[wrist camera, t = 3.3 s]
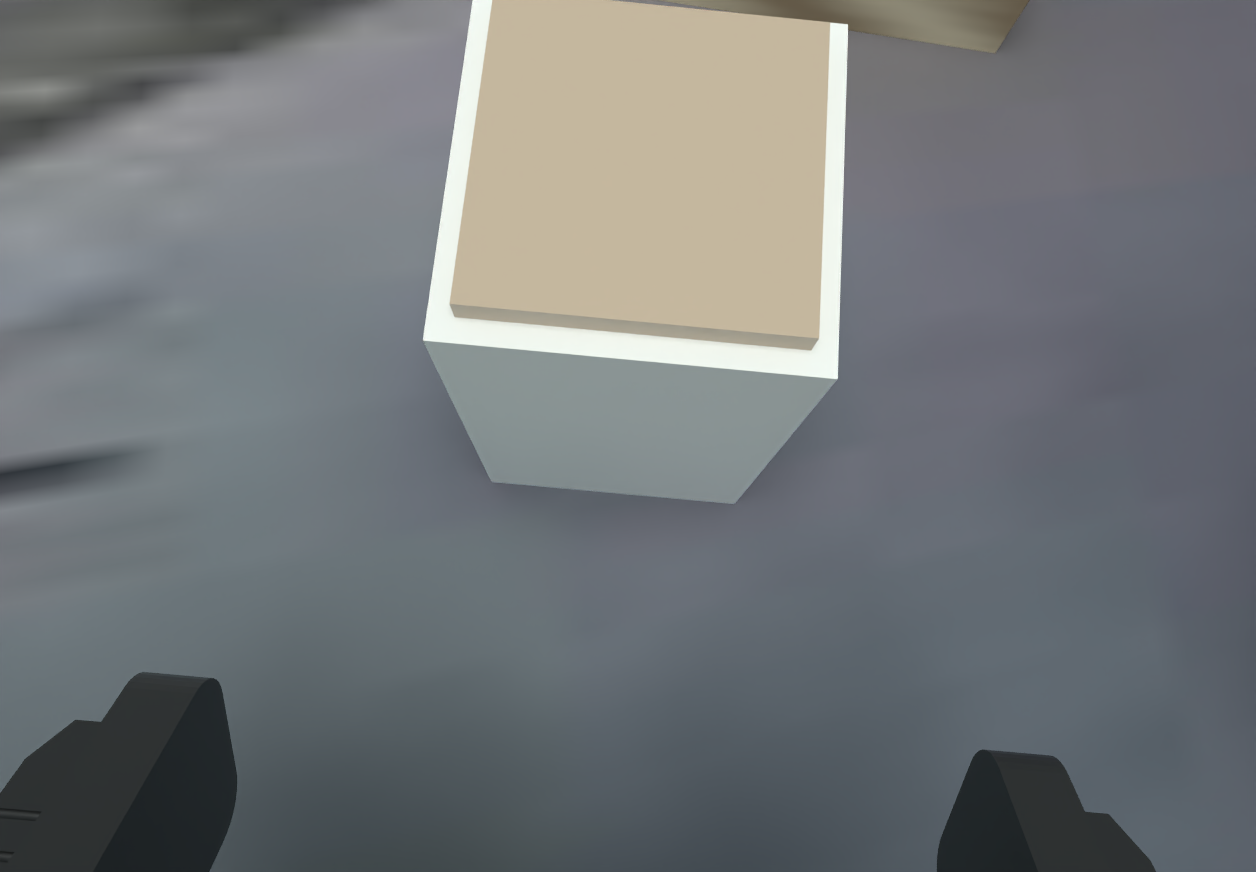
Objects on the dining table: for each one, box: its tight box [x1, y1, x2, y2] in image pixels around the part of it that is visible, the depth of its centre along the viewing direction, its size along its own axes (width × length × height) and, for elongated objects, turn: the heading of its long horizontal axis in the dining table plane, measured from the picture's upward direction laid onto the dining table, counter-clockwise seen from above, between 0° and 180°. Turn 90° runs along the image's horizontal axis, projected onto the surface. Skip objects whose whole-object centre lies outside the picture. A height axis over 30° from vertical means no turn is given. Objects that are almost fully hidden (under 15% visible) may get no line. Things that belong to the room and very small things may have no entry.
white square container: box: [423, 0, 848, 504], centre depth 19 cm, size 6×6×10 cm
